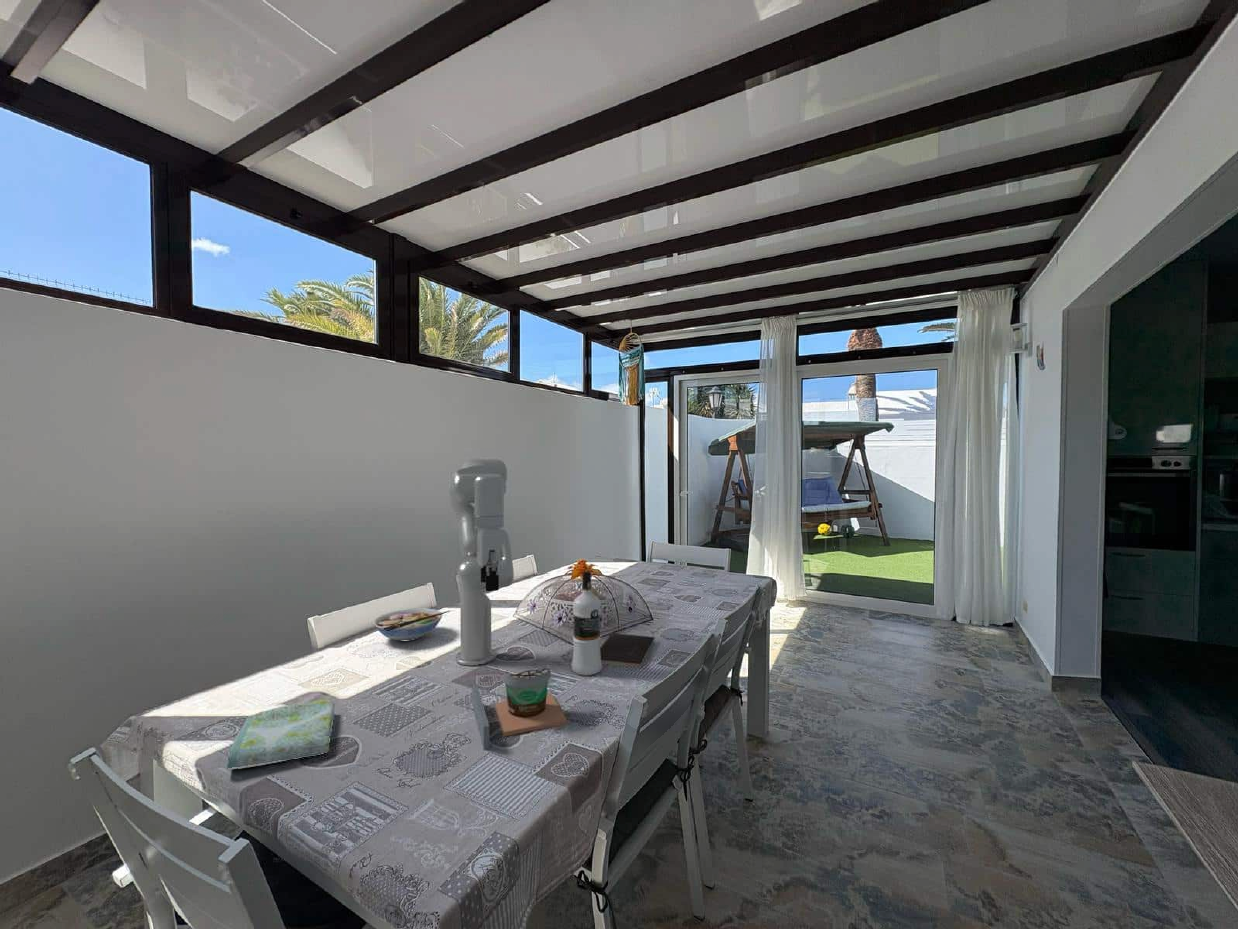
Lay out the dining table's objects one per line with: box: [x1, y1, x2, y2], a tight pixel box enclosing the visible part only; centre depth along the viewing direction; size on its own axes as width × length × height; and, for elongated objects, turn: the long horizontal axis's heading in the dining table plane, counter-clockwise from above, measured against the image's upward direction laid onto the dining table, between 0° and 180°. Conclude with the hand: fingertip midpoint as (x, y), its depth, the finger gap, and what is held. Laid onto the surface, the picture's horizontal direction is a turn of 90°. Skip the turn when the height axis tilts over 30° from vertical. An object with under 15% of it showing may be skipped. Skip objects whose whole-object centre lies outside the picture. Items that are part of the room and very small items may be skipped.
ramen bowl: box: [373, 607, 451, 641], centre depth 181 cm, size 25×23×8 cm
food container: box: [502, 664, 552, 718], centre depth 126 cm, size 12×6×10 cm, turn 116°
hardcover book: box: [600, 632, 656, 668], centre depth 168 cm, size 16×23×2 cm
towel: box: [226, 699, 335, 769], centre depth 115 cm, size 18×21×5 cm
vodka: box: [571, 570, 603, 676], centre depth 154 cm, size 9×9×30 cm
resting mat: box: [493, 692, 568, 737], centre depth 127 cm, size 15×15×1 cm
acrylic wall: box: [471, 684, 490, 750], centre depth 123 cm, size 22×1×5 cm, turn 22°
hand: (489, 586), depth 135 cm, fingers open, 9 cm apart
